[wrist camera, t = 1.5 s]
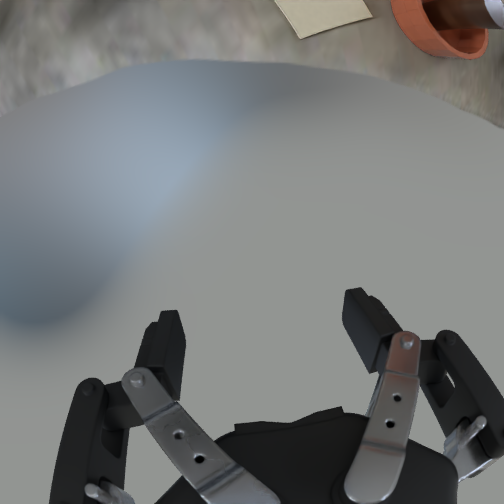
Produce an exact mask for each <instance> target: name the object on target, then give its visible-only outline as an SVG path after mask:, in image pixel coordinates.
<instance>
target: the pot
mask: <svg viewBox="0 0 504 504" xmlns="http://www.w3.org/2000/svg"><path fill="white" fill-rule="evenodd" d="M429 1H433V0H391V6H392V10H393V13H394V16H395V18H396V21H397V23H398V24H399V26H400V28H401V29H402V31H403V32H404V33H405V35H406V36H407V37H408V38H409V39H410V40H411V41H412V42H413V43H414V44H415V45H416V46H417V47H418V48H420V49H421V50H423V51H424V52H426V53H428V54H430V55H433V56H436V57H442V58H455V59H468V60H471V59H476V58H479V57H480V56H481V55H483V54H484V53H485V51H486V48H487V45H488V29H453V30H441V31H436V30H435V28H434V27H433V26H432V24H431V23H430V21H429V19H428V17H427V15H426V13H425V11H424V9H423V6H422V3H425V2H429Z"/></svg>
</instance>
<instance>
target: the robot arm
mask: <svg viewBox="0 0 504 504" xmlns="http://www.w3.org/2000/svg"><path fill="white" fill-rule="evenodd" d="M342 321H343V325H344V327H345V329H346V331H347V333H348V335H349V337H350V339H351V340H352V342H353V344H354V346H355V348H356V350H357V352H358V353H359V355H360V357H361V359H362V361H363V363H364V364H365V367H366V369H367V370H368V372H369V374H370V373H373V372H377V371H378V373H379V377H378V380H377V383H376V386H375V389H374V393H373V395H372V398H371V401H370V404H369V407H368V409H367V412H366V414H365V416H364V415H360V414H355V413H344V412H343V409H342V406H340V407H336V408H332V409H328V410H323V411H319V412H315V413H313V414H311V415H309V416H306V417H304V418H302V419H299V420H297V421H294V422H292V423H279V422H265V421H259V422H250V423H240V424H234V426H235V431H233V432H230V433H227V434H225V435H223V436H221V437H219V438H218V439H216V440H215V441H213V440H212V439H211V438H210V437H209V436H208V435H207V434H206V433H205V432H204V431H203V430H202V428H201V427H200V426H199V425H198V424H197V423H196V422H195V421H194V420H193V419H192V417H191V416H190V415H189V414H188V413H187V412H186V411H185V410H184V408H183V407H182V406H181V405H180V404H179V403H178V402H177V401H178V400H180V391H181V383H182V374H183V365H184V357H185V349H186V339H185V334H184V330H183V327H182V323H181V320H180V317H179V313H178V311H177V310H169V311H168V310H167V311H161V313H160V316H159V320H158V322H152V323H151V324H150V325H149V326H148V327H147V328H146V330H145V333H144V336H143V339H142V343H141V346H140V349H139V353H138V356H137V359H136V363H135V366H134V368H133V369H131V370H129V371H128V372H126V373H125V374H124V376H123V378H122V381H119V382H116V383H111V384H106V385H104V384H103V383H102V382H101V380H99V379H97V378H88V379H86V380H84V381H82V382H81V383H80V384H79V385H78V386H77V388H76V391H75V394H74V397H73V400H72V403H71V407H70V410H69V413H68V417H67V420H66V424H65V427H64V431H63V435H62V439H61V442H60V446H59V451H58V456H57V460H56V465H55V469H54V475H53V481H52V486H51V493H50V500H49V504H135V503H134V500H133V498H132V497H131V496H130V495H129V494H128V493H127V492H125V491H124V480H125V467H126V456H127V446H128V438H129V429H130V428H131V427H136V426H140V425H144V424H145V426H146V427H147V429H148V430H149V432H150V433H151V434H152V436H153V437H154V439H155V440H156V441H157V443H158V444H159V446H160V447H161V448H162V450H163V451H164V452H165V454H166V455H167V456H168V458H169V459H170V460H171V461H172V463H173V464H174V465H175V466H176V468H177V469H178V470H179V471H180V473H181V474H182V476H181V477H180V478H179V479H178V480H177V481H176V482H175V483H174V484H173V485H172V486H171V487H170V488H169V490H168V491H167V492H166V493H165V494H164V495H163V496H162V497H161V498H160V499H159V500H158V501H157V502H156V503H154V504H457V489H458V483H459V482H461V481H462V480H464V479H466V478H472V477H475V476H476V475H478V474H479V473H481V472H482V471H484V470H485V469H486V468H488V467H489V466H490V465H492V464H493V463H494V462H496V461H497V460H498V459H499V458H500V457H502V456H503V455H504V398H503V396H502V395H501V394H500V392H499V390H498V389H497V387H496V386H495V384H494V383H493V381H492V380H491V378H490V377H489V375H488V374H487V373H486V371H485V370H484V368H483V367H482V365H481V364H480V363H479V361H478V360H477V358H476V357H475V356H474V354H473V353H472V352H471V350H470V349H469V348H468V346H467V345H466V344H465V343H464V341H463V340H462V339H461V338H460V336H459V335H458V334H457V333H455V332H453V331H450V330H442V331H440V332H439V333H438V334H437V336H436V338H435V340H420V338H419V337H418V336H417V335H415V334H414V333H412V332H409V331H403V330H402V328H401V327H400V326H399V324H398V323H397V322H396V321H395V319H394V318H393V317H392V315H391V314H389V312H388V310H387V309H386V308H385V306H384V305H383V304H382V303H381V302H380V300H378V299H377V298H375V297H373V296H368V295H367V294H366V292H365V291H364V290H363V289H362V288H361V287H359V288H354V289H348V290H346V291H345V297H344V305H343V312H342ZM447 372H448V374H449V375H450V377H451V378H452V380H453V382H454V385H455V388H454V387H453V385H452V383H451V381H450V380H449V378H448V376H447V375H446V374H447ZM419 385H420V387H421V389H422V390H423V392H424V394H425V396H426V398H427V400H428V402H429V404H430V406H431V408H432V410H433V412H434V414H435V416H436V418H437V420H438V422H439V424H440V426H441V428H442V430H443V433H444V435H445V437H446V440H445V443H444V453H443V454H441V453H438V452H436V451H434V450H432V449H430V448H427V447H425V446H423V445H421V444H419V443H417V442H415V441H413V440H411V439H409V438H408V437H409V433H410V429H411V425H412V421H413V417H414V412H415V406H416V402H417V397H418V390H419ZM175 401H176V402H175Z"/></svg>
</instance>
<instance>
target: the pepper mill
mask: <svg viewBox="0 0 504 504" xmlns="http://www.w3.org/2000/svg"><path fill="white" fill-rule="evenodd" d="M422 6H423V9H424V11H425V13H426V15H427V17H428V19H429V21H430V23H431V24H432V26H433V27H434V28H435V30H436V31H441V30H453V29H504V5H503V4H502V2H501V1H500V0H433V1H429V2H425V3H422Z"/></svg>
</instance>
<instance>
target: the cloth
mask: <svg viewBox="0 0 504 504" xmlns="http://www.w3.org/2000/svg"><path fill="white" fill-rule="evenodd" d="M274 1H275V2H276V4H277V5H278V6H279V8H280V9H281V11H282V12H283V14H284V15H285V16H286V18H287V19H288V21H289V22H290V24H291V25H292V27H293V29H294V30H295V32H296V33H297V35H298V36H299V38H300V39H303V38H305V37H308V36H311V35H313V34H316V33H319V32H322V31H325V30H328V29H331V28H334V27H338V26H341V25H344V24H348V23H351V22H355V21H359V20H363V19H367V18H371V17H372V15H371V13H370V11H369V10H368V8H367V6H366V5H365V3H364V1H363V0H274Z"/></svg>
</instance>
